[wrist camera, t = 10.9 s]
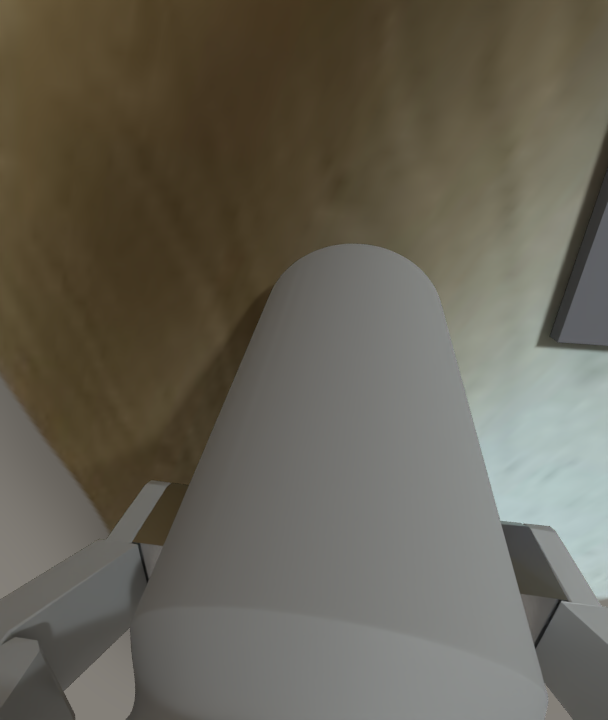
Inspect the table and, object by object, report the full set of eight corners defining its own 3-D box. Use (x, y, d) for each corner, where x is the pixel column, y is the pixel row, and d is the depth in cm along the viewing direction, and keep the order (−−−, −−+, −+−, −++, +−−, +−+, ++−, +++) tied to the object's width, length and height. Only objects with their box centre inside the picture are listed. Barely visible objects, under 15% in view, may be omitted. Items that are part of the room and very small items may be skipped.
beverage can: (466, 338, 14) (649, 883, 5) (328, 394, 17) (279, 790, 8) (385, 193, 11) (462, 890, 2) (236, 292, 14) (-14, 738, 5)
